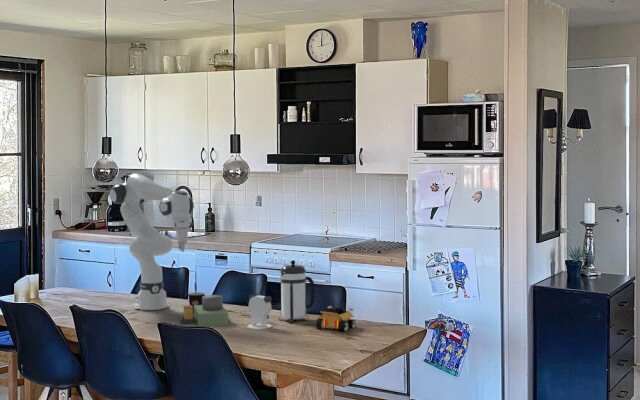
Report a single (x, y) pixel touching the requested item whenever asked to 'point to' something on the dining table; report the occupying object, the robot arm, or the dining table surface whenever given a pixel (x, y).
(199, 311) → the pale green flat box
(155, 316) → the dining table surface
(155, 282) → the robot arm
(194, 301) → the coffee mug
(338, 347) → the dining table surface
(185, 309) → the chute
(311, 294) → the coffee press
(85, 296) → the dining table surface
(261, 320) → the panda figurine
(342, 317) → the yellow toy truck
